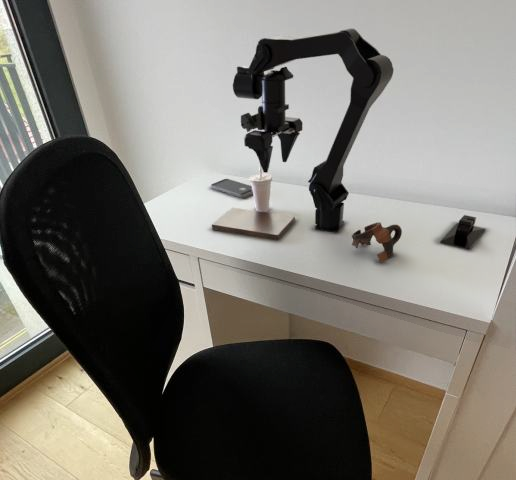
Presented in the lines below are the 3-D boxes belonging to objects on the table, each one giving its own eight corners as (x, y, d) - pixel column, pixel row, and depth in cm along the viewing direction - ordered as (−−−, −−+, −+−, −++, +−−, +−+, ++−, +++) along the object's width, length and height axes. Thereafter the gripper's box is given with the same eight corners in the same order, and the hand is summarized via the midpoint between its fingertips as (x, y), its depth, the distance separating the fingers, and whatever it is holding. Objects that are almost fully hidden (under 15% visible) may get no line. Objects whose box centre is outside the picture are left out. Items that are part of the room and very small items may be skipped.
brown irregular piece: (372, 270, 93) (358, 237, 90) (353, 268, 102) (341, 238, 99) (415, 245, 94) (403, 212, 91) (393, 245, 103) (382, 215, 100)
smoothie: (274, 205, 122) (272, 156, 113) (272, 214, 118) (270, 164, 108) (253, 206, 123) (249, 157, 114) (250, 215, 118) (246, 165, 109)
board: (295, 221, 113) (295, 216, 112) (278, 240, 106) (277, 235, 105) (232, 212, 121) (232, 207, 120) (212, 229, 113) (211, 224, 112)
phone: (209, 187, 136) (242, 198, 128) (209, 184, 136) (242, 195, 127) (226, 181, 140) (259, 191, 131) (226, 178, 140) (259, 188, 131)
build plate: (469, 250, 96) (474, 232, 93) (438, 242, 100) (442, 225, 97) (485, 229, 103) (491, 212, 100) (455, 223, 107) (460, 206, 103)
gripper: (268, 91, 108) (270, 153, 118) (224, 106, 97) (230, 173, 107) (304, 94, 103) (302, 158, 113) (261, 110, 92) (264, 180, 102)
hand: (275, 167), depth 109 cm, fingers open, 9 cm apart
